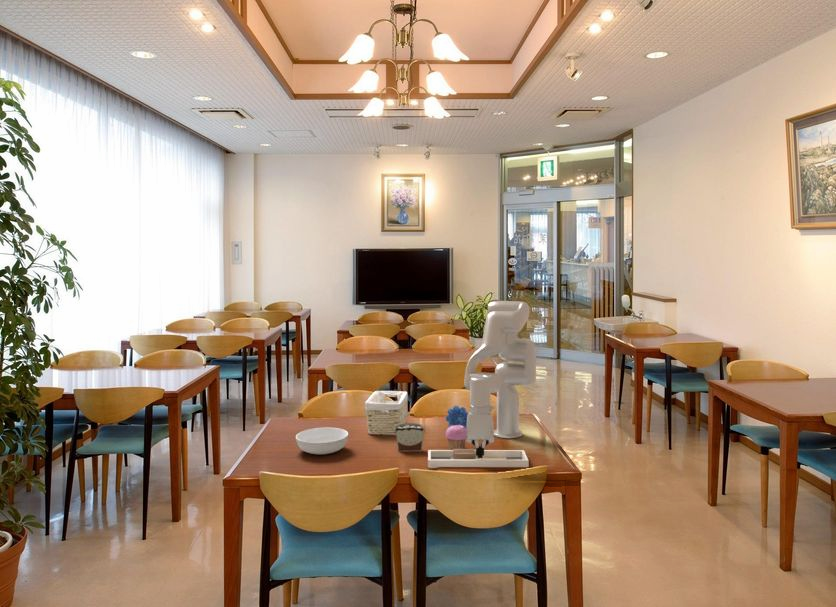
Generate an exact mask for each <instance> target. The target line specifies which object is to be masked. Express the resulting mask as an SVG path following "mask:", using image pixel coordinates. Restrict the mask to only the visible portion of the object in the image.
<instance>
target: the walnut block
mask: <svg viewBox="0 0 836 607" xmlns="http://www.w3.org/2000/svg"><path fill="white" fill-rule="evenodd" d="M475 450H476V449H475V448H464V449H453V459H475Z"/></svg>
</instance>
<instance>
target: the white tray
mask: <svg viewBox="0 0 836 607" xmlns="http://www.w3.org/2000/svg"><path fill="white" fill-rule="evenodd" d="M474 450H475V459H453V450H452V449H428V450H427V454H428V455H427V469H439V468H529V466H530V463H529V459H528V457H527V455H526V451H525V450H524V449H507V450H506V449H484V456H482V458H478V456H476V449H474Z"/></svg>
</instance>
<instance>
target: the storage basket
mask: <svg viewBox="0 0 836 607" xmlns="http://www.w3.org/2000/svg"><path fill="white" fill-rule="evenodd" d="M408 397H409V394H408V391H406V390H405V391H401V390H400V391H399V390H375V391H374V392H373V393H372V394H370V396H369V397H368V399H367V400H365V403H364V405H365V408H364V409H365V416H366V425H367V433H368V434H370V435H381V434H382V436H384V435H385V436H396V431H395V428H396V426H397V425H399V424H403V423H407V421H408V420H407V417H408V416H407V413H408V411H407V410H408ZM386 398H397V400H386Z"/></svg>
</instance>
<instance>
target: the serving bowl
mask: <svg viewBox="0 0 836 607" xmlns="http://www.w3.org/2000/svg"><path fill="white" fill-rule="evenodd" d="M348 439H349V432H348V431H347V430H346V429H343V428H338V427H330V426H329V427H327V426H326V427H315V428H309V429H304V430H303V431H299V433H296V435H295V441H296V444H297V446H298V448H300V449H301V450H302V451H303V452H306V453H308V454H313V455H322V456H324V455H328V454H333V453H335V452H338V451H341V450H342V449H343V448H344V447H345V445H346V444H347V442H348Z"/></svg>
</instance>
